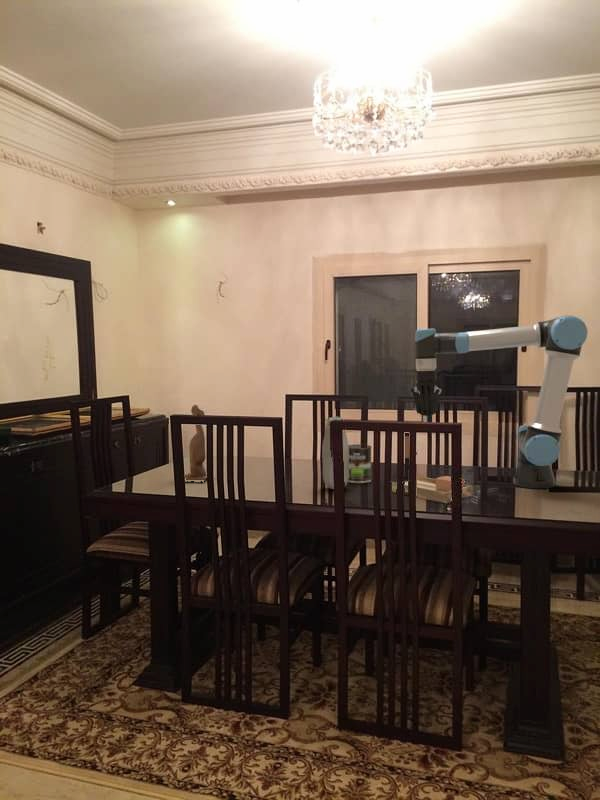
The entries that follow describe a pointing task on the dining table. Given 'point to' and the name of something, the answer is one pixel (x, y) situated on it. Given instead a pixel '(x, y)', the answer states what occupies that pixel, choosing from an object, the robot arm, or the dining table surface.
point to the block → (445, 483)
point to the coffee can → (359, 464)
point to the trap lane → (433, 490)
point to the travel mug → (407, 454)
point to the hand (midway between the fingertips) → (427, 432)
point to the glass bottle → (328, 459)
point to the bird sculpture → (197, 451)
